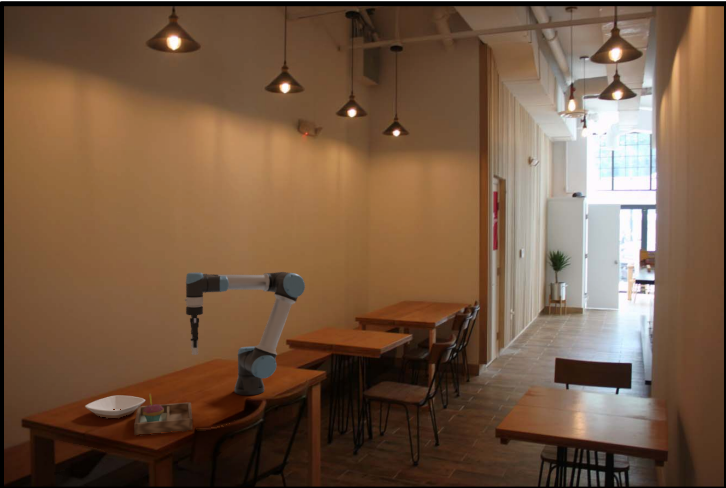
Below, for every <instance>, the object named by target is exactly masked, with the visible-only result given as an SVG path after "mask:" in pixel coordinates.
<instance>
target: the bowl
mask: <svg viewBox="0 0 726 488" xmlns="http://www.w3.org/2000/svg"><path fill="white" fill-rule="evenodd" d="M145 402H146V399H144V398H143V397H138V396H132V395H122V394H121V395H111V396H107V397H104V398H103V397H102V398H100V399H96V400H94V401H92V402H89V403H88V404H85V405H84V407H85V408H86V409H87V410H88V411H91V412H92V413H93V414H94V415H96V416H97V417H99V416H100V418H102V417H106V418H105V419H108V418H118V419H121V418H120V417H122V418H124V417H123V416H125V417H127V416H129V415H132V414H133V413H134V412H135V411H137V409H138V407H139V406H141V405H143V404H144V403H145ZM113 409H115V410H113ZM120 409H121V410H120ZM126 415H127V416H126Z"/></svg>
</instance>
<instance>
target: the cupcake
mask: <svg viewBox="0 0 726 488" xmlns="http://www.w3.org/2000/svg"><path fill="white" fill-rule="evenodd" d="M148 396H149V404H148V405H146V406H147V407H145V408H144V409H143V415H144V416H145V417H146V420H147V422H155V421H159V419H160V416H161V414H162V413H163V412H164V408H163V407H162V406H160V405H161V404H157V403H156V404H153V402H152V401H153V400H152V394H149V395H148Z"/></svg>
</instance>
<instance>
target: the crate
mask: <svg viewBox="0 0 726 488" xmlns="http://www.w3.org/2000/svg"><path fill="white" fill-rule="evenodd" d="M159 405H160V406H162V407H163V408H164V412H163V413H162V414H161V416H160V419H159V421H155V422H147V420H146V417H145V416H144V415H143V409H144V408H145V407H147V406H148V405H142V406H141V405H140V406H139V407H138V408H137V409H136V416H135V420H134V426H133V427H134V430H133V431H134V435H138V434H150V433H161V432H171V431H182V432H188V431H187V430H192V431H193V413H192V402H177V403H176V402H175V403H167V404H166V403H164V404H159ZM161 434H162V433H161Z"/></svg>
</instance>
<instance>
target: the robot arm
mask: <svg viewBox="0 0 726 488" xmlns="http://www.w3.org/2000/svg"><path fill="white" fill-rule="evenodd" d="M305 288H306V283H305V281H304V278H303V277H302V276H301V275H299V274H297V273H294V272H285V271H279V272H278V271H277V272H276V271H275V272H265V273H263V274H208V273H203V272H188V273H187V274H186V278H185V290H186V291H185V293H186V294H185V296H186V298H185V299H184V301H185V305H186V307H185V314H186V315H187V316H190V318H189V322H190V334H191V335H190V349H191V355H192V356H195V355H199V327H200V326H199V325H200V324H199V323H200V318H199V317H198V316H200V315H201V316H202V315H203V314H204V307H203V305H204V294H206V293H222V292H227V291H228V290H229V291H231V290H232V291H233V290H234V291H236V290H241V291H243V290H249V291H250V290H252V291H253V290H257V291H258V290H260V291H261V290H262V291H263V292H270V293H271V292H272V293H274V295H273V296H274V297H275V300H274V303H273V306H272V308H271V311H270V314H269V316H268V320H267V322H266V325H265V326H264V327H265V328H264V329H263V333H262V335H261V338H260V341H259V343H258V344H257V345H254V346H242V347H240V348H239V349H238V351H237V379H236V382H235V385H234V393H235V394H237V395H241V396H255V395H259V394H262V393H264V392H265V385H264V382H263V381H264V380H263V379H267V378H269V377H271V376H272V375H273V374H274V373H275V371H276V370H277V361H276V358H277V355H278V353H277V351H276V349H277V347H278V344H279V341H280V338H281V335H282V333H283V330H284V328H285V324H286V322H287V319H288V317H289V313H290V310H291V308H292V305H294V304H296V303H297V301H298V298H299V297H300V296H302V295H303V294H304V292H305V290H306V289H305Z"/></svg>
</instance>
